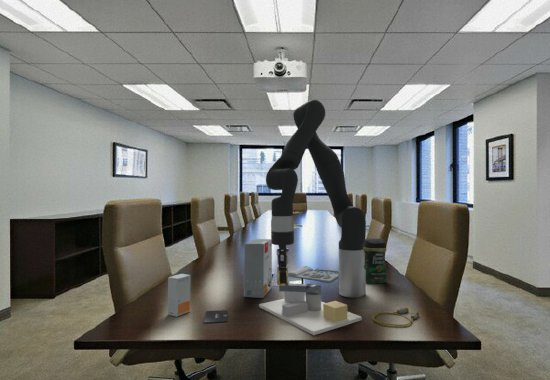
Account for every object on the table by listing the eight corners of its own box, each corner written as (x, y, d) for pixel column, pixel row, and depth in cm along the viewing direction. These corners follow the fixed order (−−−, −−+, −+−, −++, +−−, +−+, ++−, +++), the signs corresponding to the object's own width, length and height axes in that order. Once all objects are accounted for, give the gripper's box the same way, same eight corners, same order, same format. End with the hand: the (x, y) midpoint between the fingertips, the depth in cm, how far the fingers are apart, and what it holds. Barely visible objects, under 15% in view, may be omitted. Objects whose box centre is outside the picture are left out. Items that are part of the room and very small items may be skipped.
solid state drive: (228, 312, 111) (228, 309, 111) (227, 323, 101) (227, 321, 101) (206, 313, 110) (206, 310, 110) (203, 324, 101) (203, 322, 101)
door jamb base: (303, 297, 125) (302, 280, 125) (361, 320, 102) (361, 300, 102) (259, 307, 115) (259, 289, 115) (313, 335, 91) (313, 313, 92)
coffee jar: (367, 284, 142) (366, 240, 142) (361, 279, 150) (360, 237, 150) (389, 283, 143) (389, 239, 143) (382, 279, 151) (381, 237, 151)
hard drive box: (263, 298, 124) (263, 244, 124) (243, 297, 125) (243, 243, 125) (272, 287, 139) (272, 238, 139) (254, 286, 140) (254, 238, 141)
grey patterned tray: (283, 271, 158) (303, 264, 175) (283, 277, 158) (303, 269, 175) (329, 277, 146) (346, 268, 163) (329, 283, 146) (346, 274, 162)
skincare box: (176, 317, 106) (176, 278, 106) (167, 314, 108) (167, 277, 108) (191, 311, 111) (191, 274, 111) (182, 309, 113) (181, 273, 113)
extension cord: (433, 326, 98) (433, 319, 98) (383, 330, 95) (383, 323, 95) (408, 311, 110) (408, 305, 110) (363, 315, 107) (363, 309, 107)
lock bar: (321, 289, 112) (321, 266, 112) (320, 294, 107) (320, 270, 107) (278, 287, 114) (278, 265, 114) (276, 292, 109) (275, 268, 110)
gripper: (293, 232, 104) (294, 288, 104) (293, 226, 118) (294, 275, 119) (269, 232, 105) (270, 288, 105) (272, 226, 119) (273, 275, 119)
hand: (283, 281), depth 112 cm, fingers closed on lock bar, 3 cm apart
